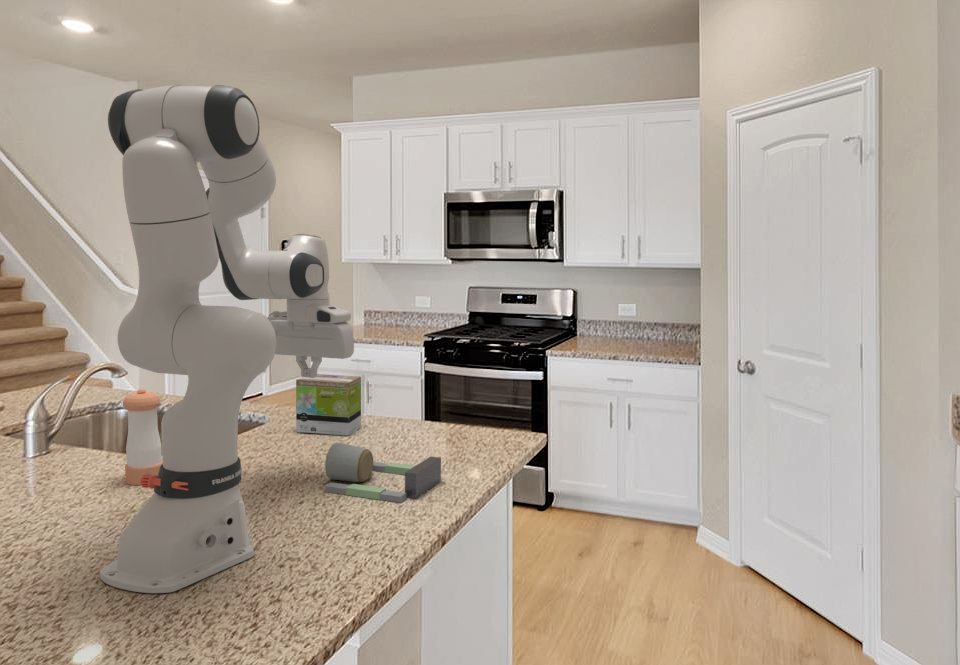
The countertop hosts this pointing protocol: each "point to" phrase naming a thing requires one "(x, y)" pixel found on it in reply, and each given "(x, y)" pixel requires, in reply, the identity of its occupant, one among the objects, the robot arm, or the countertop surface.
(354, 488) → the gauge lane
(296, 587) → the countertop surface
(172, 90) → the robot arm
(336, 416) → the tea box
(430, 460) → the dark grey rectangular block
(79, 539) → the countertop surface
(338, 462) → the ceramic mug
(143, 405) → the pepper shaker
